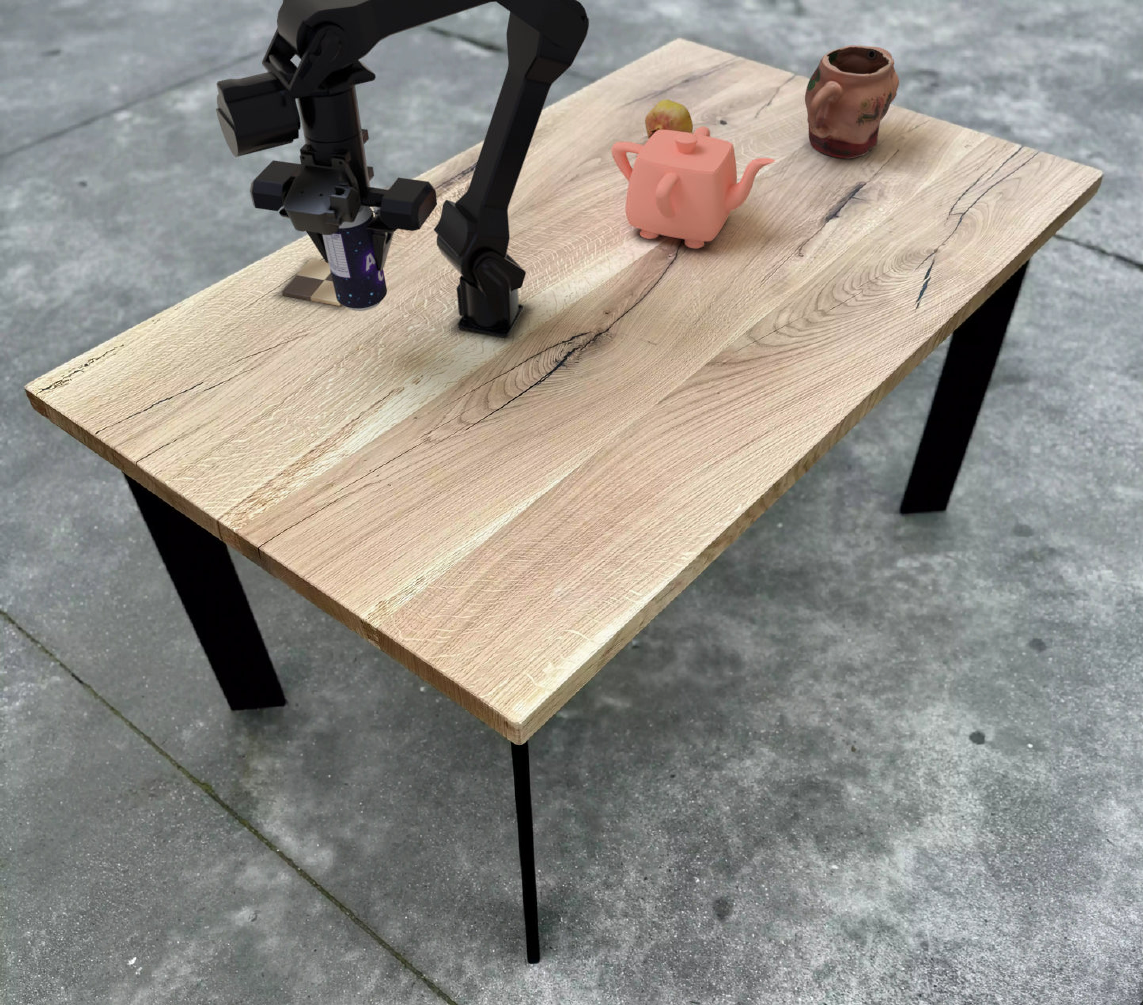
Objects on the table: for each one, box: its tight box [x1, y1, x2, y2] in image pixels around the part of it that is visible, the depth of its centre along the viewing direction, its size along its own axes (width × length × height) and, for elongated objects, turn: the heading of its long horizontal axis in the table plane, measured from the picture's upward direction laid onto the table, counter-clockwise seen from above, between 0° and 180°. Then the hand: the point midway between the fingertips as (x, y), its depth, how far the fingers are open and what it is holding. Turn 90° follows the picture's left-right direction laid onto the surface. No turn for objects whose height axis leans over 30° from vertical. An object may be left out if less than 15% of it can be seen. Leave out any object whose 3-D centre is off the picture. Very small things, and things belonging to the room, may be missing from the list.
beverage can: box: [323, 206, 388, 312], centre depth 119 cm, size 6×6×12 cm
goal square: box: [281, 258, 342, 307], centre depth 140 cm, size 8×8×1 cm
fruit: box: [644, 99, 694, 140], centre depth 164 cm, size 7×7×10 cm
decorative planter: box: [804, 44, 900, 159], centre depth 161 cm, size 20×12×14 cm, turn 143°
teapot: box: [611, 126, 776, 249], centre depth 145 cm, size 17×16×13 cm
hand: (355, 265), depth 119 cm, fingers closed on beverage can, 6 cm apart
